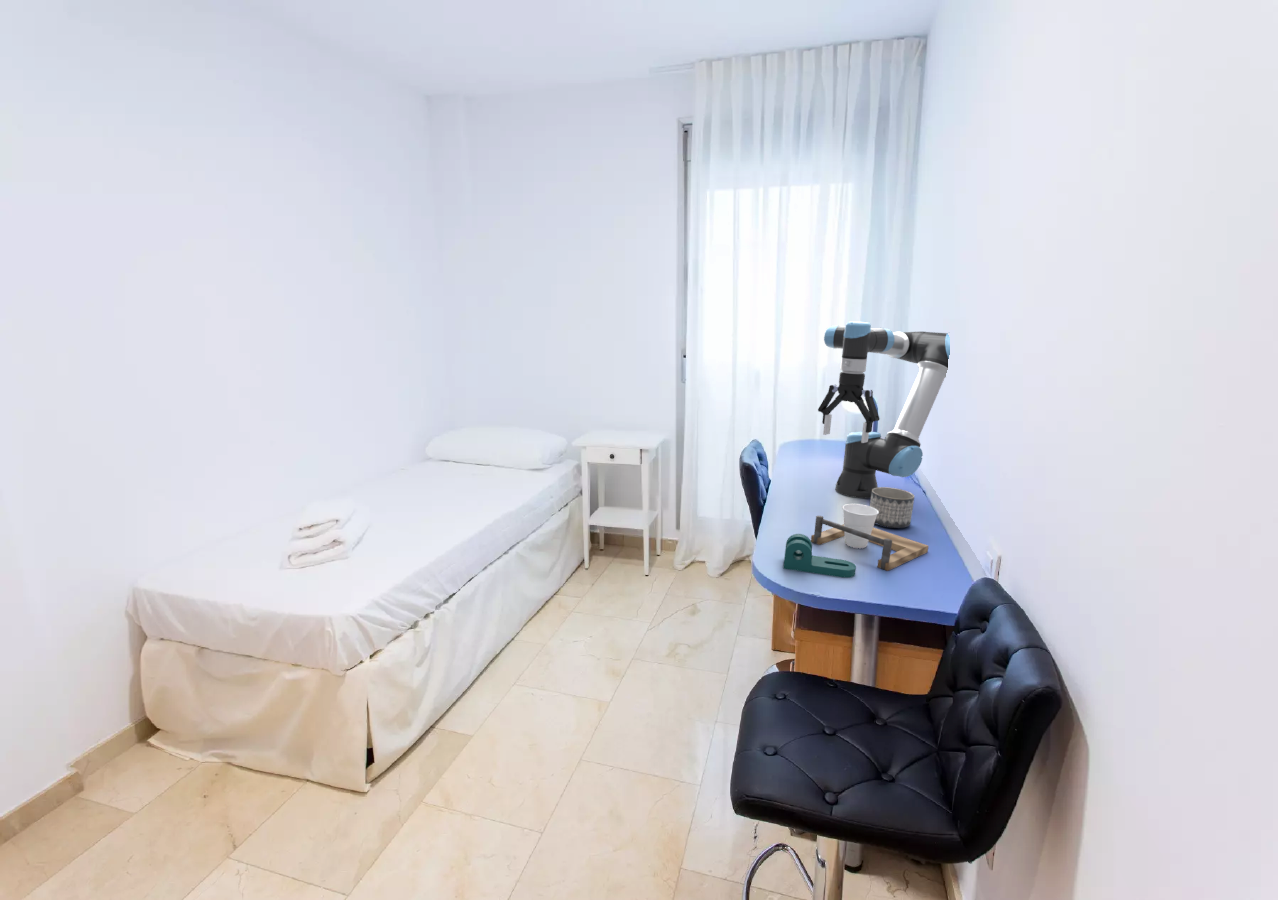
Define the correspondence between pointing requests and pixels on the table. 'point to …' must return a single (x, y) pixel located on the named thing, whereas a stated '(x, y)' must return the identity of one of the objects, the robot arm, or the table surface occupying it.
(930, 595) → the table surface
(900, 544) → the wooden frame with crossbar
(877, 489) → the planter
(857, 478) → the robot arm
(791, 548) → the bracket
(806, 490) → the table surface
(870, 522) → the cup
